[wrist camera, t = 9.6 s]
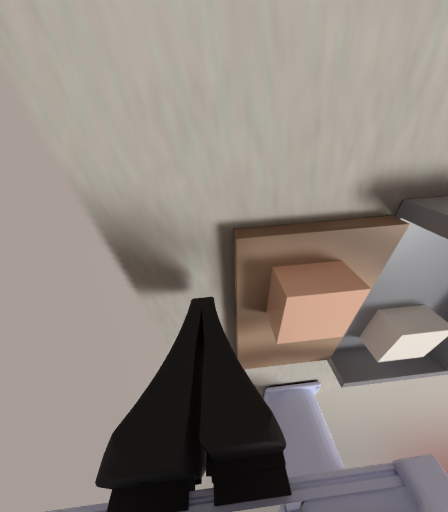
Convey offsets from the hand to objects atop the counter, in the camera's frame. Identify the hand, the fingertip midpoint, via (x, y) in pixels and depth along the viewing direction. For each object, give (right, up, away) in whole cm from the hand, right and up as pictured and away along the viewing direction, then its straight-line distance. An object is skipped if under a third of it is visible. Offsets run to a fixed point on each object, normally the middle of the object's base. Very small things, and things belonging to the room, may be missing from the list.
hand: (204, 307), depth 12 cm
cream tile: (+18, -3, +6) cm, 19 cm away
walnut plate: (+7, -1, +4) cm, 8 cm away
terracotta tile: (+7, +1, +1) cm, 7 cm away
